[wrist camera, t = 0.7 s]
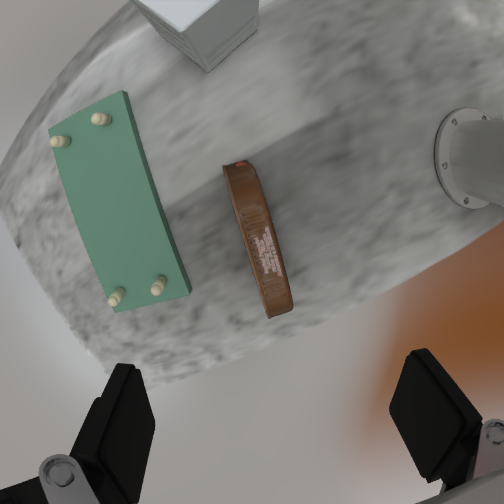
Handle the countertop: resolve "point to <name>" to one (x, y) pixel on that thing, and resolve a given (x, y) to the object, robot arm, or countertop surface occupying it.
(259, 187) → the tin
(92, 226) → the green peg board
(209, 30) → the supplement box
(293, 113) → the countertop surface
